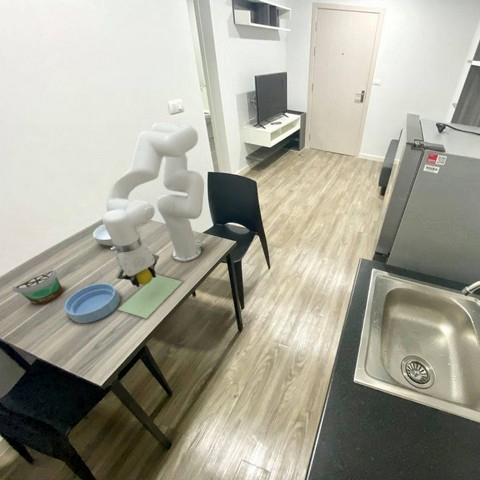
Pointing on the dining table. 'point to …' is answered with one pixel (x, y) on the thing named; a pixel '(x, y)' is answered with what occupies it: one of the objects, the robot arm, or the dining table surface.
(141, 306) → the napkin
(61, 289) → the food container
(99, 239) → the cereal bowl
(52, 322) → the dining table surface
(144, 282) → the lemon
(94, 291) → the bowl
